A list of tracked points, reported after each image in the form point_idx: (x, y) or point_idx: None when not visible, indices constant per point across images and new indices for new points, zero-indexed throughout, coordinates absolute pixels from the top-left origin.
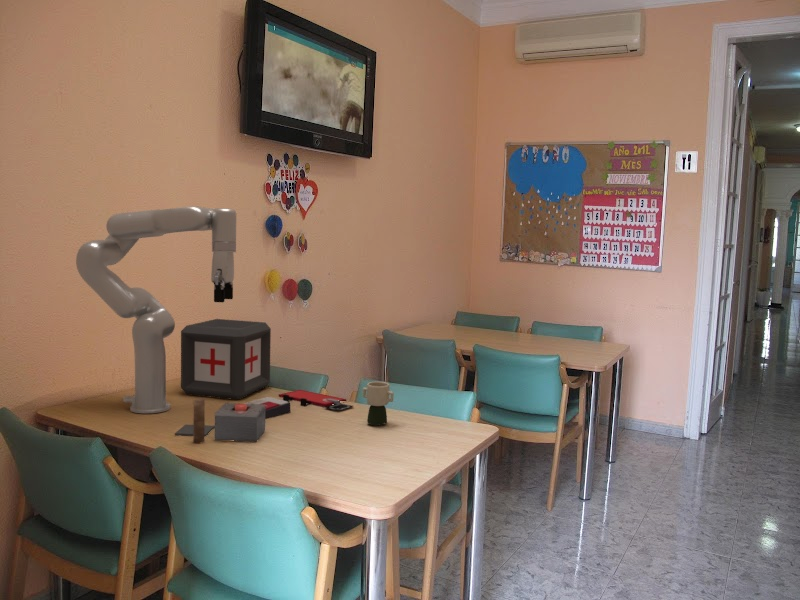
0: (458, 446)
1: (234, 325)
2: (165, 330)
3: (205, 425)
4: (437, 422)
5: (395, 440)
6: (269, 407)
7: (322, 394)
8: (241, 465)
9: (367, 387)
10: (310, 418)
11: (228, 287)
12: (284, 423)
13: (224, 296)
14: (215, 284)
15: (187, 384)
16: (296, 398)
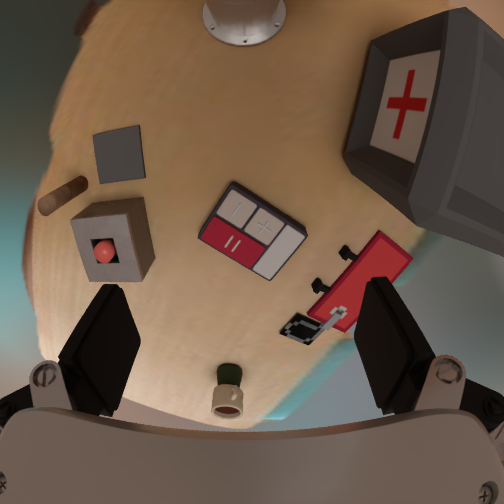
0: (179, 411)
1: None
2: None
3: (141, 162)
4: (252, 406)
5: (175, 381)
6: (228, 255)
7: None
8: (43, 263)
9: (220, 402)
10: (238, 304)
11: (396, 390)
12: (201, 275)
13: (127, 372)
14: (6, 405)
15: (378, 47)
16: (350, 267)
